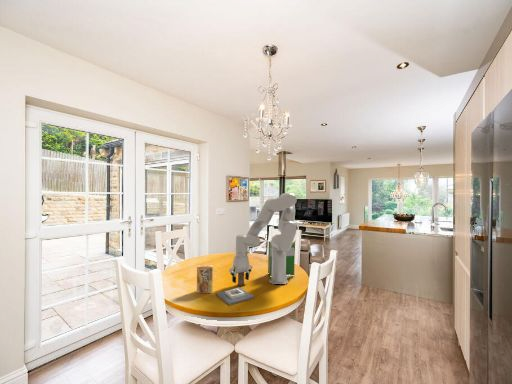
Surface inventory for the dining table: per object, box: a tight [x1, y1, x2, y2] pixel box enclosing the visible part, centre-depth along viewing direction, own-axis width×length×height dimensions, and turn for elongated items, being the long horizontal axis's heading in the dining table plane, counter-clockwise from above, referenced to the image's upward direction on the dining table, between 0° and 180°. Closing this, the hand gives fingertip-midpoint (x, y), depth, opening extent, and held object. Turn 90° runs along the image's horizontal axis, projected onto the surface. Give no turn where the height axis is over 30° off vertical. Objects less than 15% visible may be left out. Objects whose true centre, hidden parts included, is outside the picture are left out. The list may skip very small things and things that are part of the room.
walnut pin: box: [237, 272, 245, 287], centre depth 154 cm, size 4×4×8 cm
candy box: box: [196, 264, 214, 294], centre depth 142 cm, size 9×4×15 cm, turn 93°
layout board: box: [215, 286, 255, 306], centre depth 136 cm, size 16×16×2 cm
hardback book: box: [267, 241, 296, 277], centre depth 173 cm, size 18×7×24 cm, turn 98°
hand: (240, 280), depth 154 cm, fingers open, 9 cm apart
